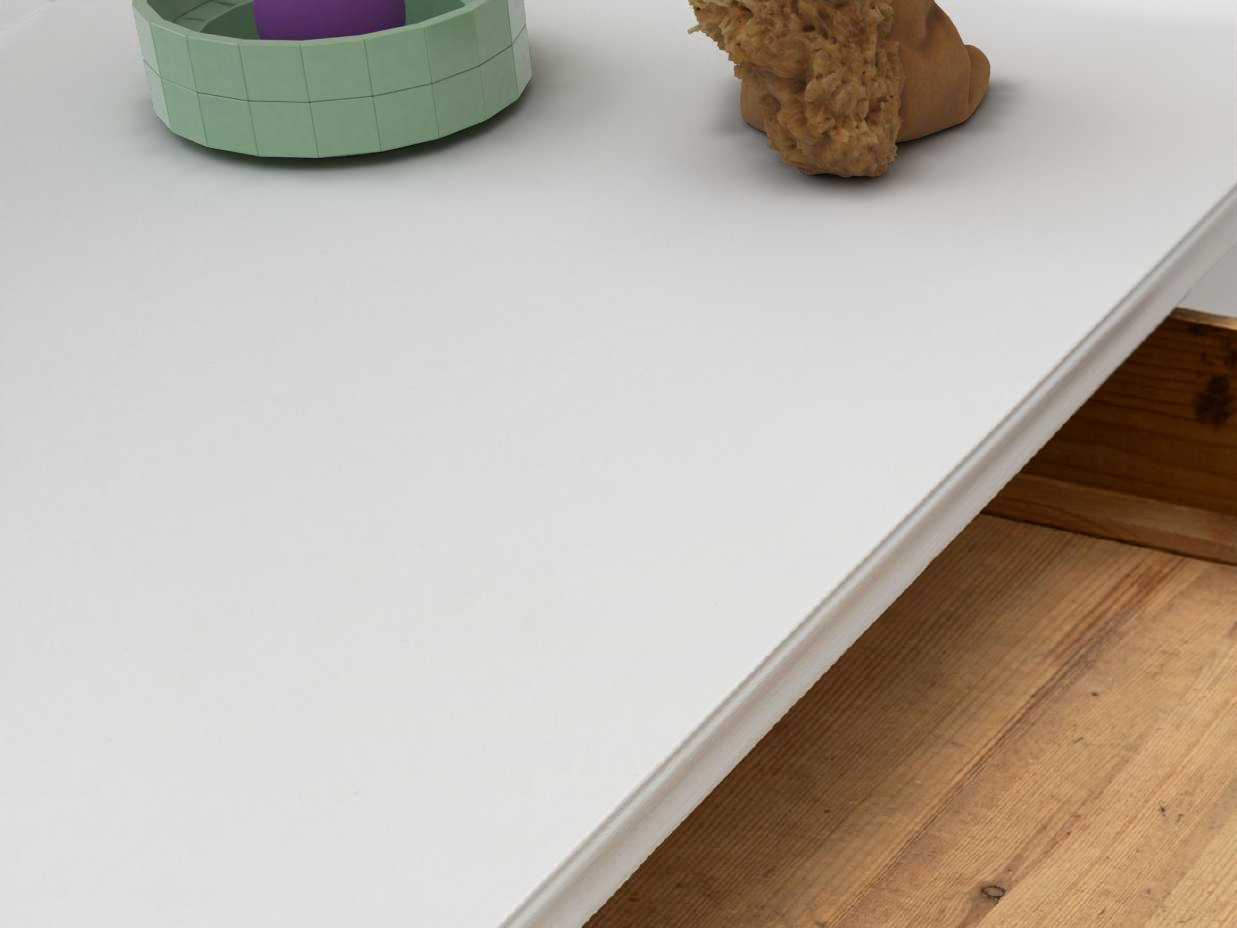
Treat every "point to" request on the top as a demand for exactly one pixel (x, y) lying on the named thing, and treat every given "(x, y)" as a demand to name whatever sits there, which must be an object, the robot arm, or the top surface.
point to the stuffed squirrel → (845, 76)
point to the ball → (325, 18)
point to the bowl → (330, 76)
